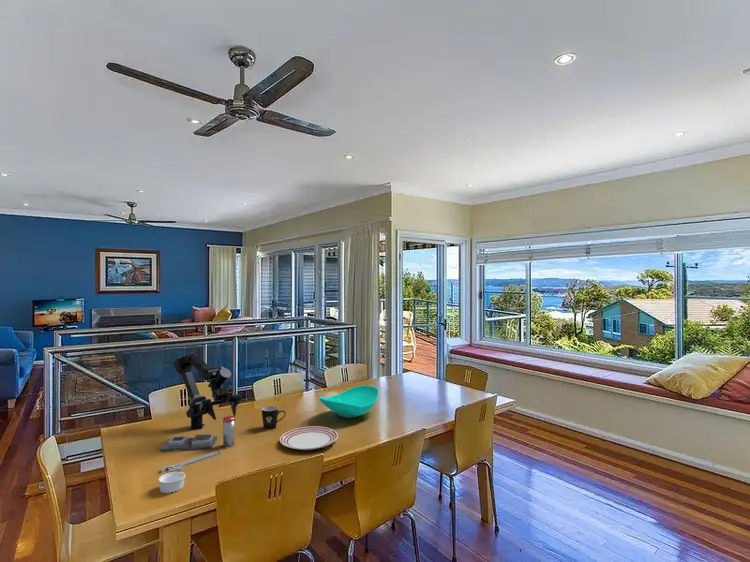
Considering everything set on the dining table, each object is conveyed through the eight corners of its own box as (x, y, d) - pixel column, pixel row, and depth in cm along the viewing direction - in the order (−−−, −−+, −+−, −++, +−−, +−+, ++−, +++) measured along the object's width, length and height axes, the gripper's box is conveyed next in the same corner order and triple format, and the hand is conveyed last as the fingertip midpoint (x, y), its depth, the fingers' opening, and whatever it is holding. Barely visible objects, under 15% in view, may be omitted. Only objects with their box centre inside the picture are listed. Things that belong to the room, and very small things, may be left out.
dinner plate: (286, 458, 177) (286, 451, 177) (274, 436, 202) (275, 430, 202) (345, 449, 188) (346, 441, 188) (328, 429, 213) (328, 422, 213)
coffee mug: (257, 429, 212) (258, 409, 212) (267, 423, 220) (267, 405, 220) (277, 432, 208) (277, 412, 208) (286, 426, 216) (286, 407, 216)
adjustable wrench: (219, 453, 183) (219, 449, 183) (226, 457, 179) (226, 453, 179) (159, 471, 165) (159, 467, 165) (165, 477, 160) (165, 472, 160)
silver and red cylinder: (224, 443, 192) (224, 416, 193) (235, 443, 193) (235, 415, 193) (221, 448, 188) (222, 419, 188) (233, 447, 188) (233, 419, 188)
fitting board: (168, 441, 195) (168, 434, 195) (217, 439, 198) (217, 432, 198) (159, 451, 183) (159, 444, 183) (211, 448, 186) (211, 441, 186)
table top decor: (342, 431, 210) (343, 405, 211) (307, 419, 228) (307, 395, 228) (390, 412, 241) (390, 390, 241) (355, 403, 259) (355, 382, 259)
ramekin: (167, 482, 156) (167, 470, 156) (189, 483, 155) (190, 471, 155) (152, 494, 147) (153, 481, 147) (176, 495, 146) (176, 483, 146)
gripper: (201, 383, 193) (209, 412, 184) (240, 377, 205) (249, 404, 196) (196, 396, 199) (203, 425, 190) (234, 390, 211) (242, 417, 202)
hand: (225, 417), depth 195 cm, fingers open, 9 cm apart
